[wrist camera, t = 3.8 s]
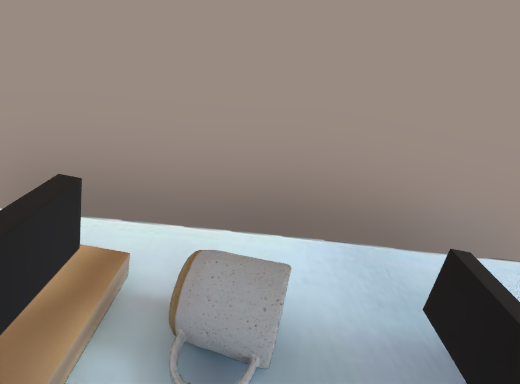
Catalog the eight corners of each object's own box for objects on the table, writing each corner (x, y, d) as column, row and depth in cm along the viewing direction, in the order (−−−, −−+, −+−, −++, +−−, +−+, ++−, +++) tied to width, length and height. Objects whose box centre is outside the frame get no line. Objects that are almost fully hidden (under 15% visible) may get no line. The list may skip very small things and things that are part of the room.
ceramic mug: (193, 297, 34) (203, 224, 31) (279, 321, 33) (298, 249, 30) (137, 395, 24) (145, 304, 21) (257, 434, 24) (282, 344, 21)
